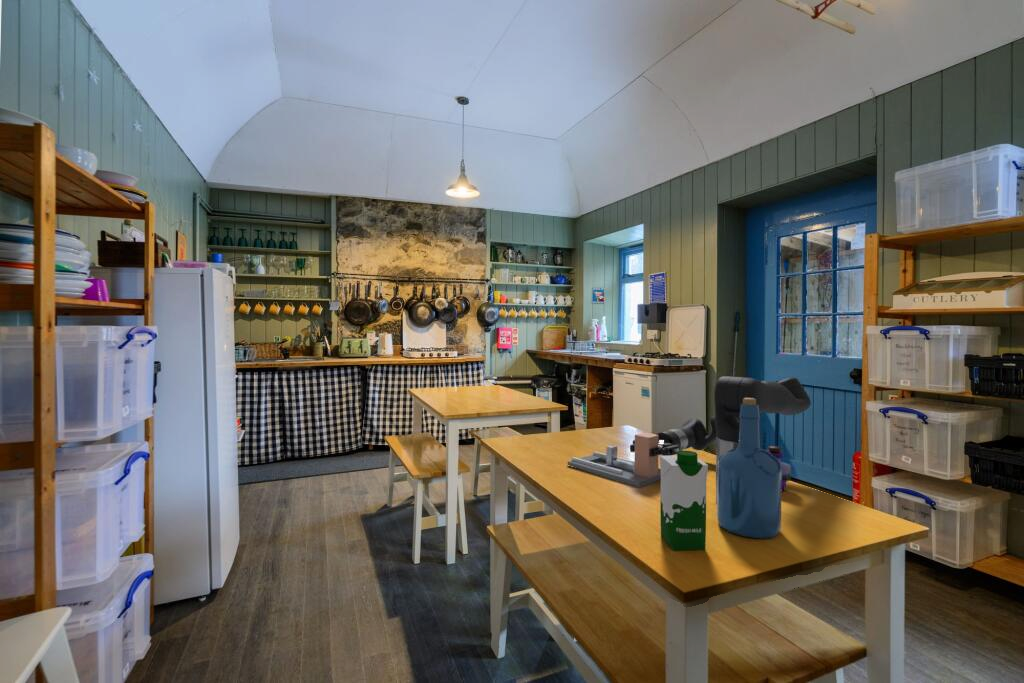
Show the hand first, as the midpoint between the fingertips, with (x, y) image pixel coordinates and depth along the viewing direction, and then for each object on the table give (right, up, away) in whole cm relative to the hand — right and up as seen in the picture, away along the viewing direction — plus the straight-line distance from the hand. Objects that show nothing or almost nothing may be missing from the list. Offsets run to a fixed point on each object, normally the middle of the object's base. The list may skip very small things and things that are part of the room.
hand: (640, 450), depth 144 cm
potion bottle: (+36, -9, -7) cm, 38 cm away
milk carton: (-2, -11, -41) cm, 42 cm away
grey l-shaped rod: (-3, -7, +8) cm, 11 cm away
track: (-5, -9, +10) cm, 14 cm away
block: (+2, -7, +1) cm, 8 cm away
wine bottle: (+16, -10, -34) cm, 39 cm away
